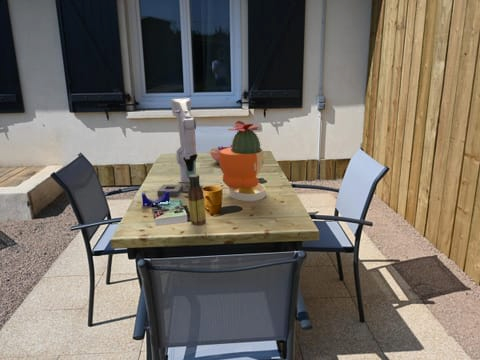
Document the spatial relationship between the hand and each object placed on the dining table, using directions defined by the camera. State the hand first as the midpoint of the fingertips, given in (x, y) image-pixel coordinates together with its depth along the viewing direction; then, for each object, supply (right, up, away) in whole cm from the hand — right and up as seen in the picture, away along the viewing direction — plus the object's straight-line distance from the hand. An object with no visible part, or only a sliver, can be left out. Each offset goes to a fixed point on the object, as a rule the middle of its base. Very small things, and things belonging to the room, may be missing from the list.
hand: (191, 170), depth 204 cm
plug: (0, -3, +1) cm, 3 cm away
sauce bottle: (+7, -22, -39) cm, 46 cm away
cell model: (+15, +6, +56) cm, 58 cm away
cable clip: (-14, -16, -16) cm, 27 cm away
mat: (0, -10, +3) cm, 10 cm away
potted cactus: (+25, -12, -6) cm, 29 cm away
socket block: (-10, -11, -1) cm, 15 cm away
